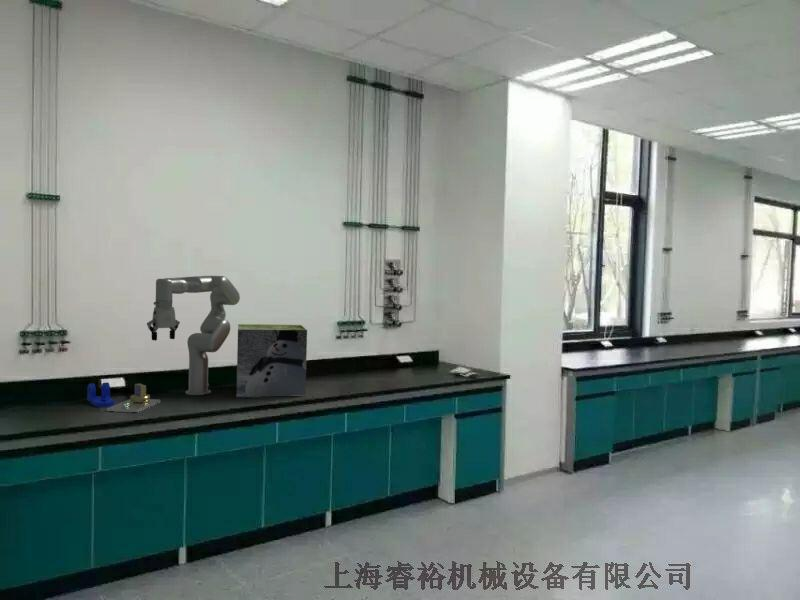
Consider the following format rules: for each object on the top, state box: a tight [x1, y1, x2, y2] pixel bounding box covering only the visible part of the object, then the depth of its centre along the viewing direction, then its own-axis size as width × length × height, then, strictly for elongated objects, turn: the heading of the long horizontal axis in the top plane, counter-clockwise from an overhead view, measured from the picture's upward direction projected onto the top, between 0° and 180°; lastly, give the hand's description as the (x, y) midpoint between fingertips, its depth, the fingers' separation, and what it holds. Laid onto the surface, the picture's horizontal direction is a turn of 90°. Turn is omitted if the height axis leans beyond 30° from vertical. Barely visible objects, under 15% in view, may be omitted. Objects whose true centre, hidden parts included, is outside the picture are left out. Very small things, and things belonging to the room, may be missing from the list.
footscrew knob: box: [130, 383, 151, 403], centre depth 279 cm, size 10×8×8 cm
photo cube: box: [236, 323, 308, 398], centre depth 323 cm, size 35×35×35 cm
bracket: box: [86, 382, 115, 408], centre depth 280 cm, size 18×8×9 cm, turn 40°
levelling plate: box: [106, 398, 161, 413], centre depth 274 cm, size 22×14×3 cm, turn 177°
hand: (163, 339), depth 286 cm, fingers open, 9 cm apart
